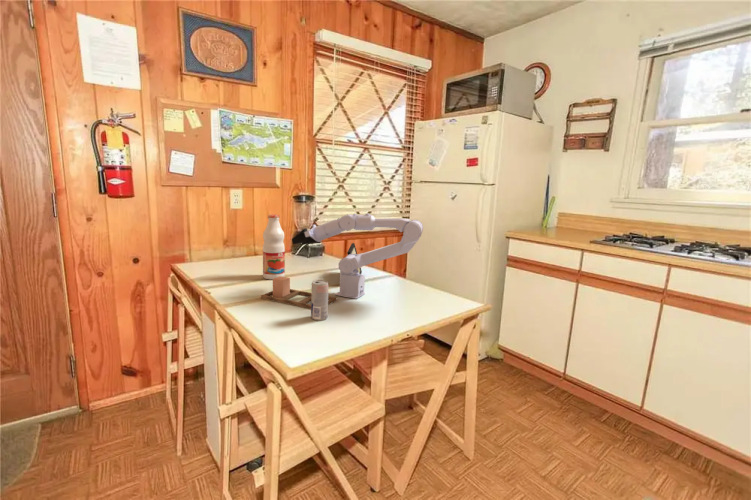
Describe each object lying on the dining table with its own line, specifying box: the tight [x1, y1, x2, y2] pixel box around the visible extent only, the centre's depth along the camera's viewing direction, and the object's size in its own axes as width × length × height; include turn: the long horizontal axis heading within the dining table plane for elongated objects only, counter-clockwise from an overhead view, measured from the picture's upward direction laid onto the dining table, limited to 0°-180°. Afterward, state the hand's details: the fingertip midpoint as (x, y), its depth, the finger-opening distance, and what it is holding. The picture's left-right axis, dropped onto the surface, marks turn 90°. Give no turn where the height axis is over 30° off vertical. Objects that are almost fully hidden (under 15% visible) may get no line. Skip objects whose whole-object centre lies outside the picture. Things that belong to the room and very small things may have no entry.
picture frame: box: [346, 242, 363, 275], centre depth 167 cm, size 23×9×15 cm, turn 179°
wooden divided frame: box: [260, 288, 337, 309], centre depth 135 cm, size 25×12×1 cm, turn 67°
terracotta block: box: [272, 276, 291, 298], centre depth 138 cm, size 4×4×7 cm
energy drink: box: [310, 279, 329, 322], centre depth 117 cm, size 5×5×12 cm
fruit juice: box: [262, 214, 286, 281], centre depth 161 cm, size 9×9×28 cm
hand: (297, 241), depth 145 cm, fingers open, 7 cm apart
